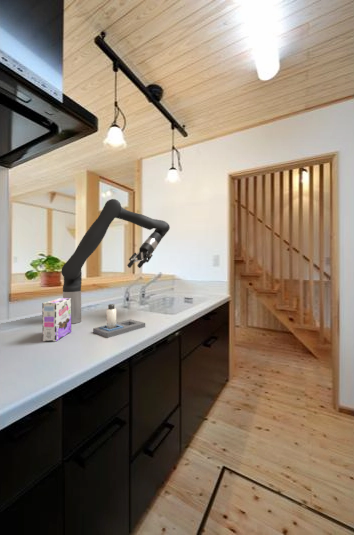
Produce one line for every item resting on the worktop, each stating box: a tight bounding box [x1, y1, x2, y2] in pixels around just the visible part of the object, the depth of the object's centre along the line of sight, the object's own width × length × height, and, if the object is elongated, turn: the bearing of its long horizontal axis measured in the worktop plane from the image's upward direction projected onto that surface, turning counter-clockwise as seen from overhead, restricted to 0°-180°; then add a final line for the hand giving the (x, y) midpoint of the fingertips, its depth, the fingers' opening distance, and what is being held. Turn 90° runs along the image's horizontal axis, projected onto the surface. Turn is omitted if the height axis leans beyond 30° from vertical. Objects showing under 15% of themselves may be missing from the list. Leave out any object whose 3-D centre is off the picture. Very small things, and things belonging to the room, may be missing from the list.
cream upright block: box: [106, 303, 117, 329], centre depth 108 cm, size 4×4×13 cm
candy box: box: [41, 297, 72, 342], centre depth 101 cm, size 14×6×16 cm, turn 179°
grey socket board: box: [92, 319, 146, 339], centre depth 111 cm, size 12×22×2 cm, turn 140°
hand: (133, 266), depth 124 cm, fingers open, 8 cm apart
